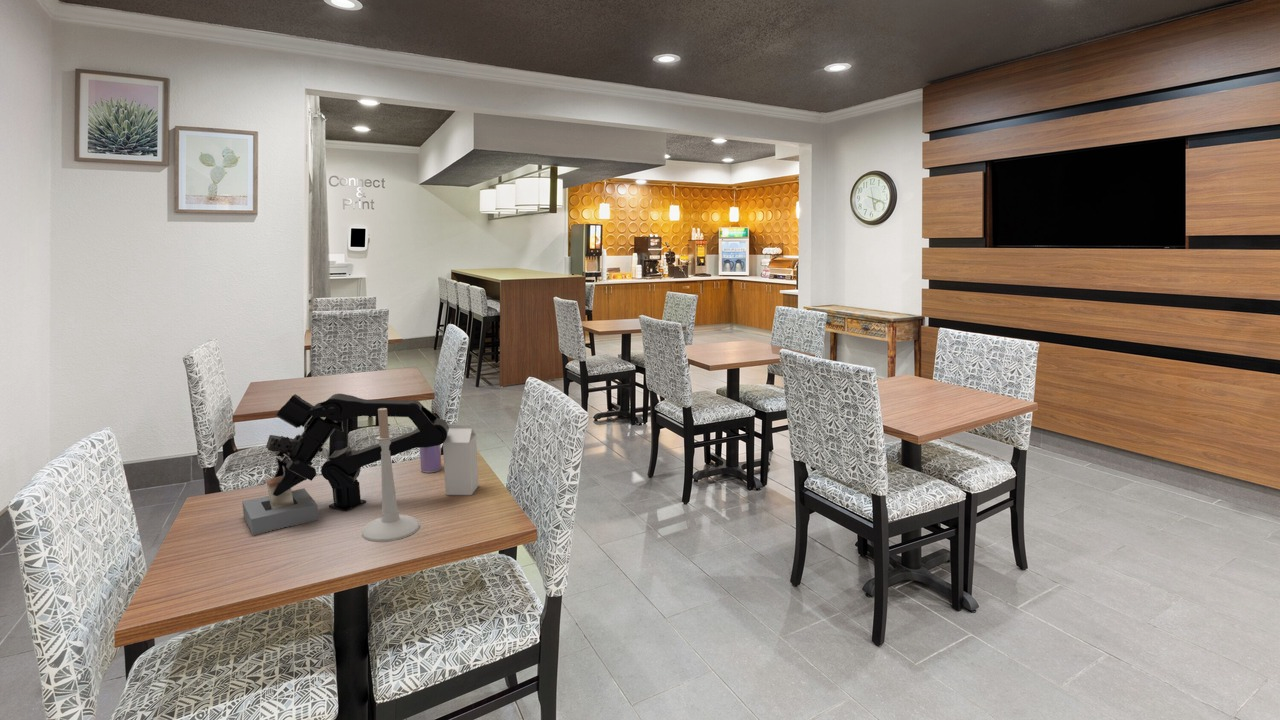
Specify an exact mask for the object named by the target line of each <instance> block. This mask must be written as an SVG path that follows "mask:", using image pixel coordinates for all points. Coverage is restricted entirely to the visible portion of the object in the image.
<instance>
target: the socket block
mask: <svg viewBox="0 0 1280 720" xmlns="http://www.w3.org/2000/svg"><path fill="white" fill-rule="evenodd" d="M292 496H293V502H294V505H290V506H286V507H281V508H277V509H272V510H271V505H270V499H269V495H266V496H262V497H257V498H253V499H252V498H251V499H248V500H247V499H246V500H243V501H242V510H243V511H242V512H243V518H244V520H245V522H246V524H247V526H248V528H249V530H250V532H251V534H252V536H253V535H254V536H257V535H261V533H262V534H266V533H269V532H268V531H270V532H273V531H272V530H274V531H277V530H276V529H278V530H281V529H280V528H283V529H285V528H284V527H287V528H290V527H289V526H291V527H294V525H295V526H298V525H302V524H306V523H311V522H315V521H319V510H318V504H317V502H316V501H315V500H314V499H313V497H312V496H311V495H310V494H309V492H308V491H307V490H306V489H305V488H301V489H300V488H299V489H296V490H295V489H294V490H292ZM265 532H266V533H265Z"/></svg>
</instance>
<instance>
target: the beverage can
mask: <svg viewBox="0 0 1280 720" xmlns="http://www.w3.org/2000/svg"><path fill="white" fill-rule="evenodd" d="M441 451H442V450H441V445H438V446H432V447H427V448H419V461H420V470H421V472H422V473H426V474H432V473H433V472H434V473H437V472H440V471H441V469H442V452H441ZM434 473H433V474H434Z"/></svg>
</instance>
